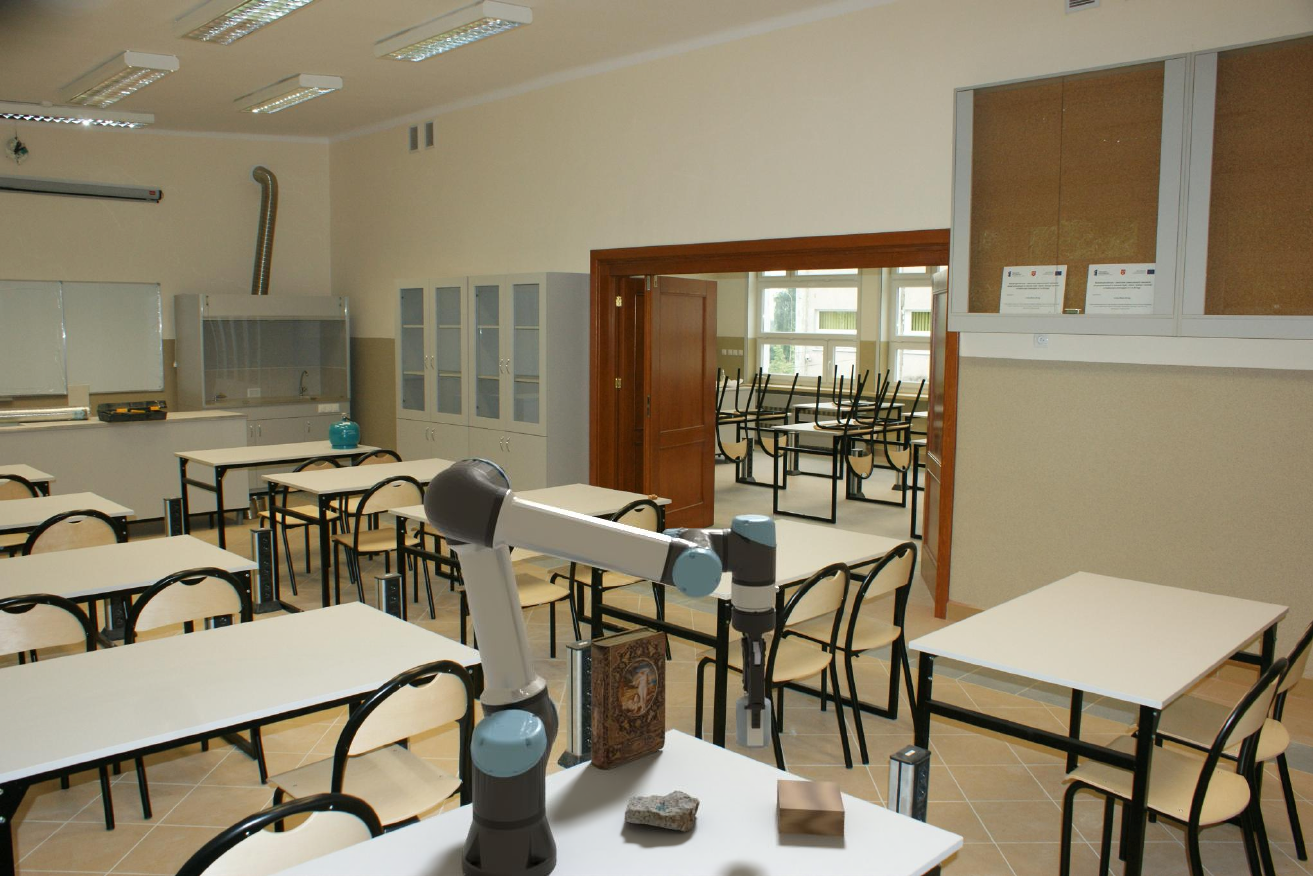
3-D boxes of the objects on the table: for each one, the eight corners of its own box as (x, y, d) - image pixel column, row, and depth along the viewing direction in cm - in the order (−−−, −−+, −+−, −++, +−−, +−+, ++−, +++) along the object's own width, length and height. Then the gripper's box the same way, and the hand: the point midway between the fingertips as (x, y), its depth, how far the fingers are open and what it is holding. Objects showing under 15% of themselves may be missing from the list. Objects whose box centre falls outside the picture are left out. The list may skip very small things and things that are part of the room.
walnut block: (779, 835, 167) (779, 808, 166) (776, 805, 178) (777, 779, 177) (843, 839, 166) (844, 811, 166) (837, 808, 177) (838, 782, 176)
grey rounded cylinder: (737, 748, 165) (737, 708, 164) (734, 734, 171) (734, 696, 170) (772, 748, 165) (772, 708, 164) (768, 734, 171) (768, 695, 170)
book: (604, 771, 191) (604, 647, 188) (586, 762, 195) (586, 641, 192) (665, 748, 202) (666, 631, 200) (647, 740, 206) (648, 625, 204)
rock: (620, 832, 166) (620, 804, 166) (631, 808, 176) (630, 781, 175) (695, 837, 164) (694, 808, 164) (701, 812, 174) (701, 785, 173)
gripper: (782, 621, 156) (782, 760, 158) (769, 591, 175) (768, 715, 177) (736, 622, 156) (736, 760, 158) (727, 592, 175) (727, 716, 177)
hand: (753, 736), depth 168 cm, fingers closed on grey rounded cylinder, 6 cm apart
